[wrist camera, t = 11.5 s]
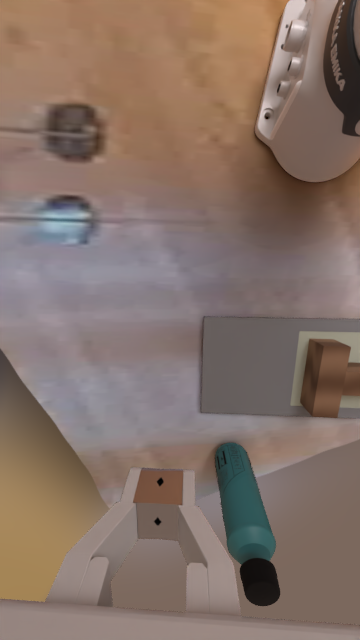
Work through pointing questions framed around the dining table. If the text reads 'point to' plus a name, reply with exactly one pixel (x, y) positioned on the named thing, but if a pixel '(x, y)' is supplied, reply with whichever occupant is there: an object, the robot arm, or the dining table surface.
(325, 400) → the t block
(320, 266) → the dining table surface
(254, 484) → the beverage bottle
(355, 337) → the board
